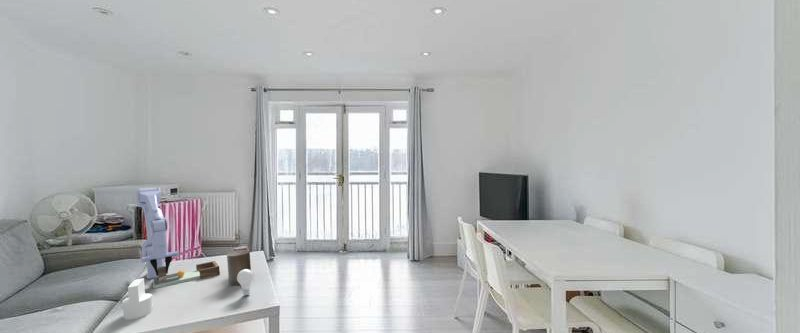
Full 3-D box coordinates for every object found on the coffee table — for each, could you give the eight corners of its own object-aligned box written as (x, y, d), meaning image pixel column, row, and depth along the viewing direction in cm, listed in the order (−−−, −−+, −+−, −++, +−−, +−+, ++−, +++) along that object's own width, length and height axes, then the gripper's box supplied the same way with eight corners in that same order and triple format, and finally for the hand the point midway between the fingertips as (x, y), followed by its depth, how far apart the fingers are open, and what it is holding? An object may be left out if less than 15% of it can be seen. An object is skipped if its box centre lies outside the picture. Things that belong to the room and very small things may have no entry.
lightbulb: (238, 299, 142) (236, 273, 142) (237, 294, 148) (236, 268, 147) (255, 296, 145) (253, 270, 145) (254, 291, 151) (252, 265, 150)
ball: (177, 276, 169) (176, 270, 169) (184, 275, 171) (183, 269, 171) (177, 278, 167) (177, 272, 167) (185, 276, 169) (184, 270, 169)
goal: (196, 272, 178) (196, 264, 178) (215, 268, 183) (214, 260, 183) (200, 278, 169) (199, 270, 169) (219, 274, 174) (219, 266, 174)
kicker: (158, 279, 166) (157, 267, 165) (165, 277, 167) (164, 265, 167) (159, 282, 162) (158, 269, 161) (166, 280, 163) (165, 268, 163)
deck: (152, 282, 166) (152, 279, 166) (198, 272, 178) (198, 270, 178) (153, 288, 158) (153, 285, 158) (201, 277, 170) (201, 275, 170)
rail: (154, 280, 166) (153, 277, 166) (177, 275, 171) (177, 272, 171) (154, 284, 160) (154, 282, 159) (179, 279, 165) (179, 277, 165)
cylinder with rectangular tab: (127, 311, 136) (125, 280, 135) (155, 306, 139) (153, 276, 139) (120, 321, 127) (117, 289, 127) (149, 316, 131) (147, 284, 130)
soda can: (244, 275, 171) (243, 249, 170) (231, 275, 172) (229, 249, 171) (253, 270, 178) (252, 245, 177) (241, 270, 179) (239, 245, 178)
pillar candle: (256, 279, 164) (254, 248, 164) (236, 287, 156) (234, 253, 155) (243, 276, 169) (241, 246, 169) (224, 283, 161) (221, 251, 161)
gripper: (140, 250, 156) (143, 280, 157) (179, 244, 165) (181, 272, 166) (140, 247, 162) (142, 276, 162) (177, 241, 171) (179, 268, 171)
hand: (162, 274), depth 164 cm, fingers closed on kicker, 3 cm apart
